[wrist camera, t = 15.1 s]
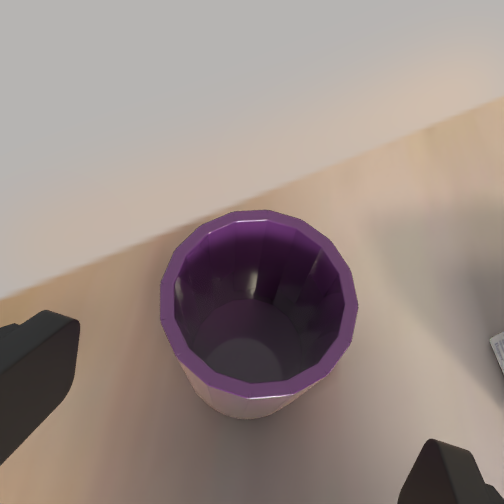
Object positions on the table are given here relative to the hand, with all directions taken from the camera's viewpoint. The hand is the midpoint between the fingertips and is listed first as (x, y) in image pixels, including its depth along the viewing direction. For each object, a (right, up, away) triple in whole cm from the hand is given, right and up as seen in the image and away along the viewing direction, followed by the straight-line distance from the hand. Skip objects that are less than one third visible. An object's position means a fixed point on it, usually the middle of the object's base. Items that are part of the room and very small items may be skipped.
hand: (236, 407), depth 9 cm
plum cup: (0, -1, +10) cm, 10 cm away
